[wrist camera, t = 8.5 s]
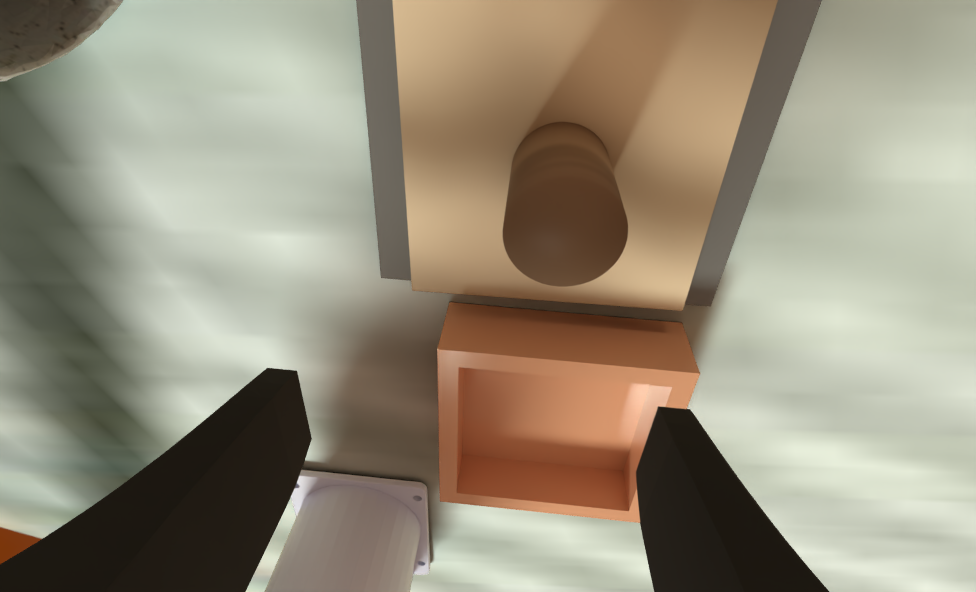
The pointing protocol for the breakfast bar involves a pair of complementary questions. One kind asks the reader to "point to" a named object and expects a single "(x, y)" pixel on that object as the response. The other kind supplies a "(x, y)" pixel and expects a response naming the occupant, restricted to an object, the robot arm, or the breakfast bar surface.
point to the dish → (553, 406)
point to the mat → (736, 188)
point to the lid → (569, 141)
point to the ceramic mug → (46, 30)
